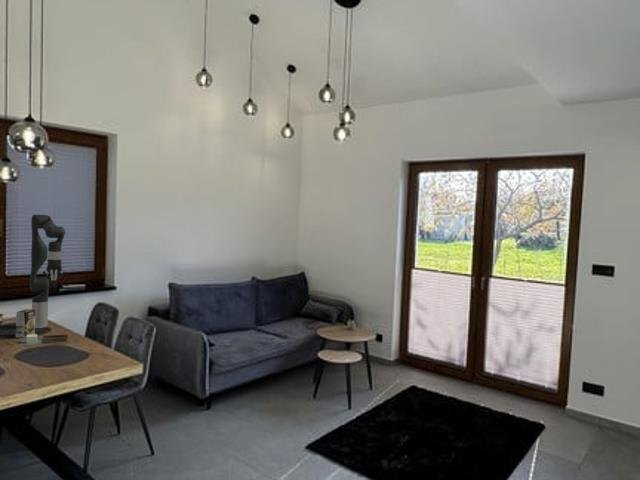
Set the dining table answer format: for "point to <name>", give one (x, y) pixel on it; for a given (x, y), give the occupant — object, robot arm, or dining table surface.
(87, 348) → the dining table surface
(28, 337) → the pale block
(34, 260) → the robot arm
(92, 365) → the dining table surface
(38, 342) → the pad
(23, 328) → the coffee box
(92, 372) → the dining table surface
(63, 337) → the chute
